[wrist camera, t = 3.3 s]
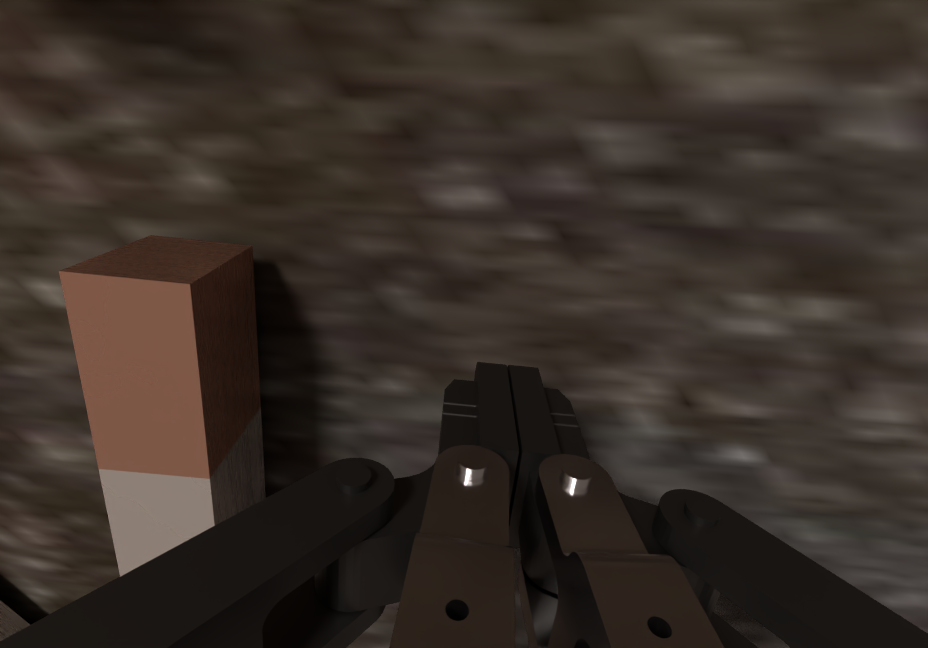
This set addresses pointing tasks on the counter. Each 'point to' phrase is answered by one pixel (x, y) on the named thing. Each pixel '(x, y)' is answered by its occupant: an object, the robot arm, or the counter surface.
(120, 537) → the leg
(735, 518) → the robot arm
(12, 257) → the counter surface
